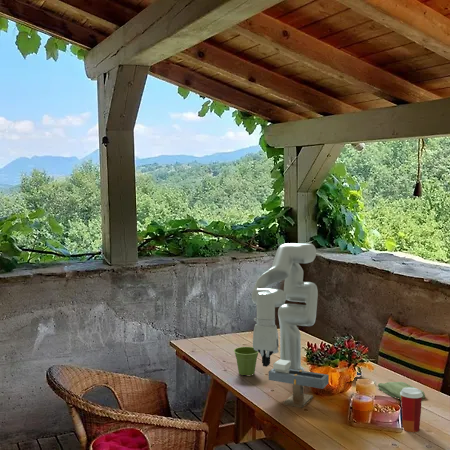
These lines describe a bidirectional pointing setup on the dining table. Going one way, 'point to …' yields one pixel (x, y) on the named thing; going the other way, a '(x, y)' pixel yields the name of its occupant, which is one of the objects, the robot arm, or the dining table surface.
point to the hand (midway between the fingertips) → (266, 365)
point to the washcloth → (395, 388)
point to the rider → (282, 366)
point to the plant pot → (246, 360)
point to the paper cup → (411, 408)
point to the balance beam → (299, 384)
